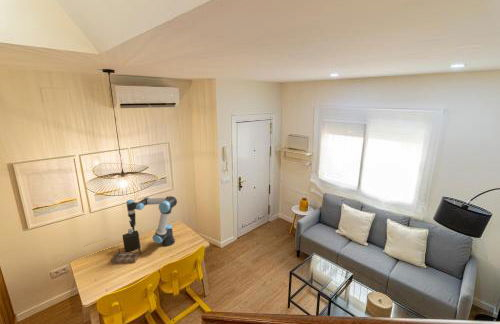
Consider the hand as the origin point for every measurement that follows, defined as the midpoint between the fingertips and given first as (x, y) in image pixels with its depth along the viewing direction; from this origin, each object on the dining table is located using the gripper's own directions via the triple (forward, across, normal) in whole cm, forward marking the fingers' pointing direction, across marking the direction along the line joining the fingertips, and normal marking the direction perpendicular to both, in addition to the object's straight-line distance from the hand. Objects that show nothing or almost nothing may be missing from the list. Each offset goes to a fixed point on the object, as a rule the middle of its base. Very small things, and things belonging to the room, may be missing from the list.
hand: (134, 231), depth 283 cm
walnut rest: (+17, +26, 0) cm, 31 cm away
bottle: (+18, +10, 0) cm, 20 cm away
